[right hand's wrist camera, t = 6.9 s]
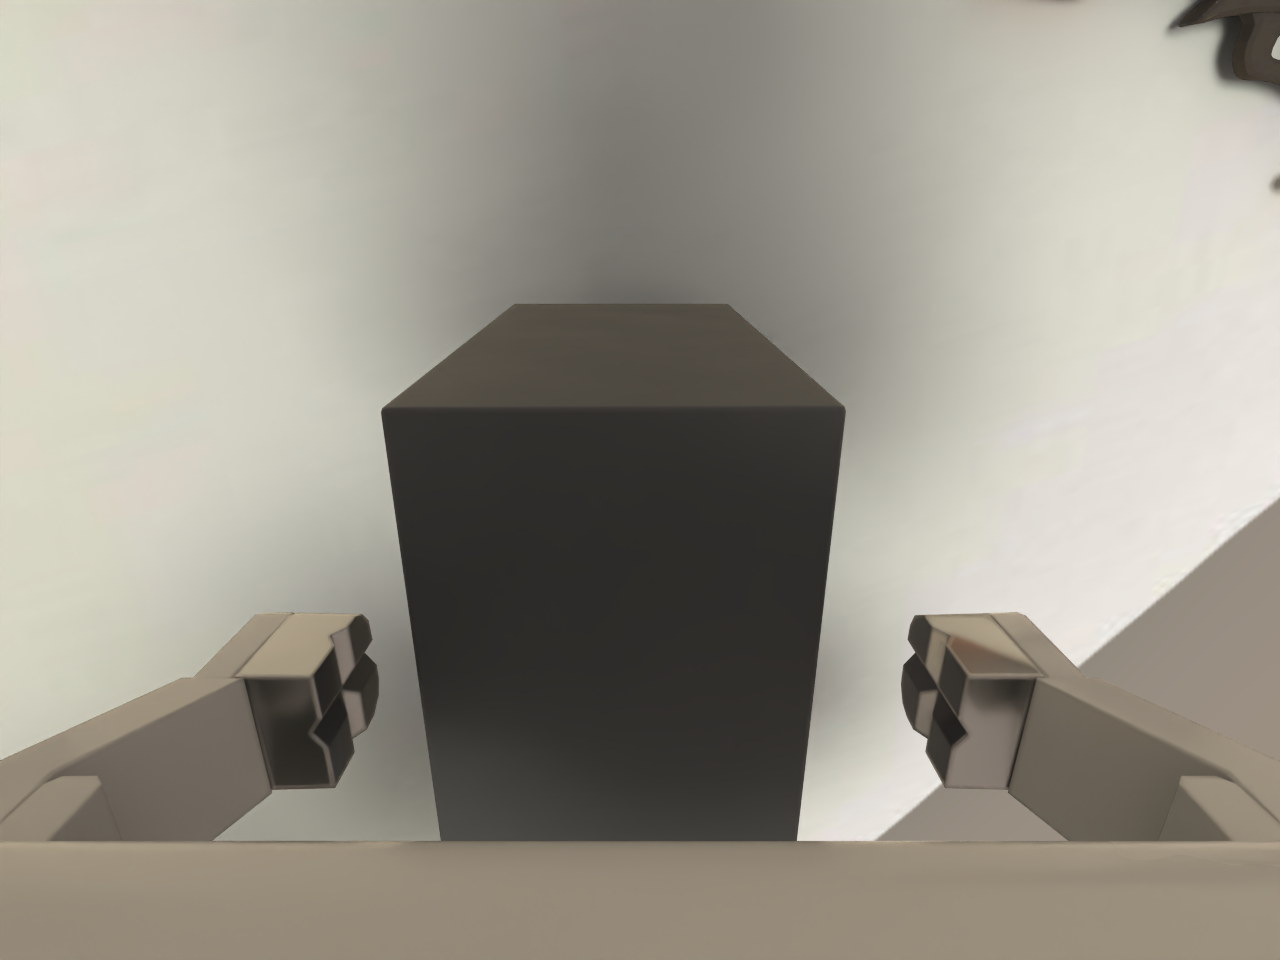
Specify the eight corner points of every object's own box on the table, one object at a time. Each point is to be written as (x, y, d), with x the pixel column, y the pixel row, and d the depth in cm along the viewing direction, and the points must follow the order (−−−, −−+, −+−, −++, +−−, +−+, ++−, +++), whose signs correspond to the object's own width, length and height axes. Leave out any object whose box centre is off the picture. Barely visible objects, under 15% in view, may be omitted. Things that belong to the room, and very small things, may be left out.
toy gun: (1475, 204, 24) (1702, -181, 19) (921, 168, 24) (1009, -216, 19) (1402, 197, 26) (1589, -147, 21) (900, 164, 27) (974, -179, 22)
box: (513, 303, 19) (377, 408, 9) (728, 303, 19) (848, 406, 9) (549, 873, 27) (501, 1281, 17) (701, 871, 27) (747, 1275, 17)
